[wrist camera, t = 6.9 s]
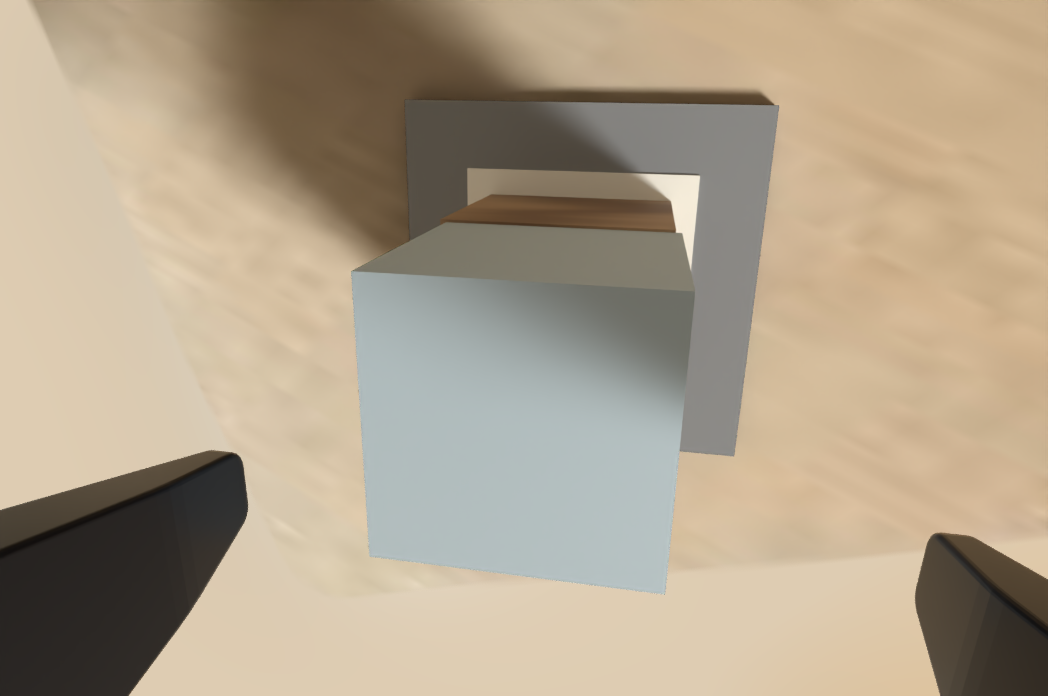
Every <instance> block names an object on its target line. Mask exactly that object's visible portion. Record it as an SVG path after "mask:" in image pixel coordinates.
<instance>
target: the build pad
mask: <svg viewBox="0 0 1048 696" xmlns="http://www.w3.org/2000/svg"><path fill="white" fill-rule="evenodd" d="M778 111H779V105H722V104H658V103H595V102H531V101H468V100H405V125H406V153H407V180H408V208H409V235H410V241H411V240H413V239H414V238H416V237H418V236H420V235H422V234H424V233H426V232H428V231H430V230H432V229H434V228H436V227H438V226H440V219H442V218H444V217H446V216H448V215H450V214H452V213H454V212H456V211H458V210H460V209H462V208H464V207H466V206H468V205H470V204H472V203H474V202H477V201H479V200H481V199H483V198H485V197H487V196H489V195H491V194H497V195H523V196H550V197H576V198H602V199H628V200H655V201H671V204H672V210H673V215H674V221H675V226H676V233H682V234H683V239H684V243H685V248H686V252H687V256H688V261H689V265H690V270H691V274H692V278H693V283H694V287H695V301H694V311H693V321H692V331H691V341H690V351H689V361H688V371H687V381H686V391H685V401H684V411H683V421H682V431H681V441H680V451H683V452H693V453H704V454H714V455H725V456H734V453H735V446H736V438H737V430H738V422H739V415H740V407H741V399H742V391H743V383H744V376H745V368H746V360H747V352H748V345H749V337H750V329H751V321H752V313H753V306H754V298H755V290H756V282H757V275H758V267H759V259H760V251H761V243H762V236H763V228H764V220H765V212H766V205H767V197H768V189H769V181H770V174H771V166H772V158H773V150H774V142H775V135H776V127H777V119H778Z"/></svg>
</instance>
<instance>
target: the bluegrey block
mask: <svg viewBox="0 0 1048 696" xmlns="http://www.w3.org/2000/svg"><path fill="white" fill-rule="evenodd" d="M351 276H352V291H353V307H354V322H355V338H356V353H357V369H358V384H359V400H360V416H361V431H362V447H363V462H364V478H365V493H366V509H367V524H368V540H369V556H370V557H377V558H385V559H393V560H400V561H408V562H416V563H424V564H431V565H439V566H447V567H455V568H462V569H470V570H478V571H486V572H493V573H501V574H509V575H517V576H525V577H532V578H540V579H548V580H556V581H563V582H571V583H579V584H587V585H594V586H603V587H611V588H618V589H626V590H634V591H641V592H649V593H657V594H664V595H665V590H666V580H667V570H668V560H669V550H670V540H671V531H672V521H673V511H674V501H675V491H676V481H677V471H678V461H679V451H680V441H681V431H682V421H683V411H684V401H685V391H686V381H687V371H688V361H689V351H690V341H691V331H692V321H693V311H694V301H695V287H694V283H693V278H692V274H691V270H690V265H689V261H688V256H687V252H686V248H685V243H684V239H683V234H682V233H671V232H649V231H627V230H606V229H584V228H562V227H540V226H518V225H496V224H474V223H452V222H445V223H443V224H442V225H440V226H438V227H436V228H434V229H432V230H430V231H428V232H426V233H424V234H422V235H420V236H418V237H416V238H414V239H413V240H411V241H409V242H407V243H405V244H403V245H401V246H399V247H397V248H395V249H393V250H391V251H389V252H387V253H385V254H384V255H382V256H380V257H378V258H376V259H374V260H372V261H370V262H368V263H366V264H364V265H362V266H360V267H358V268H356V269H355V270H353V271H351Z"/></svg>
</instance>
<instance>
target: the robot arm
mask: <svg viewBox="0 0 1048 696" xmlns="http://www.w3.org/2000/svg"><path fill="white" fill-rule="evenodd" d="M247 512H248V500H247V491H246V483H245V475H244V467H243V462H242V460H241V458H240V457H239V456H238V455H237V454H236V453H232V452H224V451H214V450H211V451H205V452H202V453H198V454H195V455H191V456H188V457H184V458H181V459H177V460H174V461H170V462H167V463H163V464H160V465H156V466H153V467H149V468H146V469H142V470H139V471H135V472H132V473H128V474H125V475H121V476H118V477H114V478H111V479H107V480H104V481H100V482H97V483H93V484H90V485H86V486H83V487H79V488H76V489H72V490H69V491H65V492H62V493H58V494H55V495H51V496H48V497H45V498H41V499H37V500H34V501H30V502H27V503H23V504H20V505H16V506H13V507H9V508H6V509H2V510H0V696H129V694H130V693H131V692H132V690H133V689H134V688H135V686H136V685H137V684H138V682H139V681H140V680H141V678H142V677H143V676H144V674H145V673H146V672H147V670H148V669H149V667H150V666H151V665H152V663H153V662H154V661H155V659H156V658H157V657H158V655H159V654H160V653H161V651H162V650H163V649H164V647H165V646H166V645H167V643H168V642H169V641H170V639H171V638H172V637H173V635H174V634H175V632H176V631H177V630H178V628H179V627H180V626H181V624H182V623H183V621H184V620H185V619H186V617H187V615H188V614H189V613H190V611H191V610H192V608H193V607H194V605H195V603H196V602H197V600H198V599H199V597H200V595H201V594H202V592H203V591H204V589H205V587H206V586H207V584H208V582H209V581H210V579H211V577H212V576H213V574H214V572H215V571H216V569H217V567H218V566H219V564H220V562H221V560H222V559H223V557H224V556H225V554H226V552H227V551H228V549H229V547H230V545H231V544H232V542H233V541H234V539H235V537H236V536H237V534H238V532H239V531H240V529H241V527H242V525H243V524H244V522H245V519H246V516H247ZM915 604H916V610H917V614H918V618H919V621H920V625H921V629H922V632H923V636H924V639H925V643H926V646H927V650H928V654H929V657H930V660H931V664H932V668H933V671H934V675H935V678H936V682H937V686H938V689H939V693H940V696H1048V579H1046V578H1044V577H1043V576H1041V575H1039V574H1037V573H1035V572H1034V571H1032V570H1030V569H1029V568H1027V567H1025V566H1023V565H1021V564H1020V563H1018V562H1016V561H1014V560H1013V559H1011V558H1009V557H1007V556H1006V555H1004V554H1002V553H1000V552H998V551H997V550H995V549H993V548H992V547H990V546H988V545H986V544H984V543H983V542H981V541H979V540H977V539H976V538H974V537H971V536H967V535H958V534H949V533H935V534H933V535H932V536H931V537H930V539H929V541H928V543H927V546H926V550H925V554H924V558H923V562H922V566H921V571H920V574H919V578H918V583H917V587H916V593H915Z"/></svg>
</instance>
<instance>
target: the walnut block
mask: <svg viewBox="0 0 1048 696" xmlns="http://www.w3.org/2000/svg"><path fill="white" fill-rule="evenodd" d="M445 222H452V223H474V224H496V225H518V226H540V227H562V228H584V229H606V230H627V231H649V232H671V233H676V226H675V221H674V215H673V210H672V204H671V201H655V200H628V199H602V198H576V197H550V196H523V195H497V194H491V195H489V196H487V197H485V198H483V199H481V200H479V201H477V202H474V203H472V204H470V205H468V206H466V207H464V208H462V209H460V210H458V211H456V212H454V213H452V214H450V215H448V216H446V217H444V218H442V219H440V225H442V224H443V223H445Z"/></svg>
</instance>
